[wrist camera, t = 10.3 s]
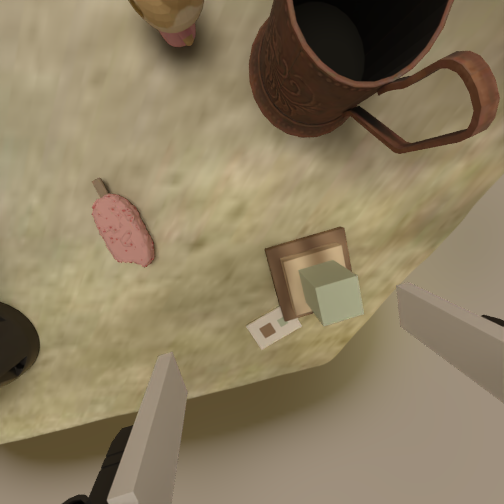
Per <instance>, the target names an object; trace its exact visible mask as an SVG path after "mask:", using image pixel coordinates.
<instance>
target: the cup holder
mask: <svg viewBox="0 0 504 504" xmlns="http://www.w3.org/2000/svg"><path fill="white" fill-rule="evenodd" d="M453 1H454V0H274V2H273V5H272V9H271V13H270V17H269V18H268V19H267V20H266V21H265V23H264V24H263V25H262V26H261V28H260V29H259V32H258V34H257V36H256V38H255V40H254V43H253V45H252V50H251V55H250V60H249V77H250V85H251V88H252V92H253V95H254V99H255V101H256V103H257V104H258V106H259V108H260V110H261V112H262V113H263V115H264V116H265V117H266V118H267V119H268V120H269V121H270V122H271V123H272V124H273V125H274V126H275V127H277V128H279V129H280V130H282V131H283V132H285V133H287V134H290V135H294V136H298V137H318V136H321V135H324V134H327V133H330V132H331V131H333V130H334V129H336V128H337V127H339V126H340V125H342V124H343V123H344V122H345V121H346V120H347V119H348V117H349V116H351V117H353V118H354V119H355V120H356V121H357V122H358V123H360V124H361V125H362V126H363V127H364V128H366V129H367V130H368V131H369V132H370V133H372V134H373V135H374V136H375V137H376V138H378V139H379V140H380V141H381V142H382V143H384V144H385V145H386V146H387V147H388V148H389V149H391V150H392V151H393V152H394V153H398V154H401V153H406V152H412V151H417V150H422V149H427V148H432V147H437V146H442V145H447V144H452V143H457V142H460V141H463V140H465V139H467V138H469V137H472V136H474V135H476V134H478V133H480V132H482V131H484V130H486V129H487V128H488V127H489V125H490V124H491V123H492V121H493V120H494V118H495V116H496V112H497V108H498V103H499V99H500V97H499V93H498V88H497V84H496V80H495V77H494V75H493V73H492V71H491V69H490V67H489V65H488V64H487V63H486V62H485V61H484V59H483V58H482V57H481V56H480V55H478V54H476V53H473V52H471V51H456V52H454V53H452V54H450V55H448V56H446V57H444V58H442V59H440V60H438V61H437V62H435V63H433V64H431V65H429V66H428V67H426V68H424V69H422V70H421V71H419V72H417V73H416V74H414V75H412V76H407V77H403V78H400V77H401V76H403V75H404V74H406V73H407V72H409V71H410V70H412V69H413V68H414V67H415V66H416V65H417V64H418V62H419V61H420V60H421V59H422V58H423V57H424V56H425V55H426V54H427V53H428V52H429V51H430V49H431V47H432V46H433V44H434V42H435V41H436V39H437V38H438V36H439V34H440V33H441V31H442V29H443V28H444V26H445V23H446V20H447V17H448V15H449V12H450V9H451V7H452V4H453ZM441 68H448V69H450V70H452V71H455V72H457V73H458V75H459V76H460V77H461V78H462V80H463V81H464V83H465V85H466V87H467V89H468V91H469V93H470V97H471V101H472V105H473V110H474V112H473V116H472V120H471V123H470V125H469V127H468V128H467V129H465V130H461V131H457V132H453V133H449V134H445V135H442V136H438V137H434V138H430V139H426V140H422V141H419V142H415V143H409V142H406V141H405V140H403V139H402V138H401V137H399V136H398V135H397V134H396V133H394V132H393V131H392V130H390V129H389V128H388V127H386V126H385V125H384V124H383V123H381V122H380V121H379V120H377V119H376V118H375V117H373V116H372V115H371V114H370V113H368V112H367V111H366V110H364V109H363V108H361V107H360V106H357V105H358V104H359V103H361V102H362V101H364V100H365V99H367V98H369V97H370V96H372V95H373V94H375V93H376V92H378V95H381V94H383V93H385V92H387V91H391V90H396V89H404V88H406V87H408V86H410V85H412V84H414V83H416V82H418V81H420V80H422V79H423V78H425V77H427V76H429V75H430V74H432V73H434V72H435V71H437V70H439V69H441ZM398 78H399V79H398ZM356 106H357V107H356Z"/></svg>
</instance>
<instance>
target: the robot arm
mask: <svg viewBox="0 0 504 504" xmlns="http://www.w3.org/2000/svg"><path fill="white" fill-rule="evenodd" d="M396 289H397V299H398V309H399V318H400V327H402V328H403V329H404V330H406V331H407V332H408V333H410V334H411V335H413V336H414V337H415V338H416V339H418V340H419V341H421V342H422V343H423V344H425V345H426V346H427V347H429V348H430V349H432V350H433V351H434V352H435V353H437V354H438V355H439V356H441V357H442V358H443V359H445V360H446V361H447V362H449V363H450V364H452V365H453V366H454V367H456V368H457V369H458V370H460V371H461V372H463V373H464V374H465V375H466V376H468V377H469V378H471V379H472V380H473V381H474V382H476V383H477V384H478V385H480V386H481V387H483V388H484V389H485V390H487V391H488V392H489V393H491V394H492V395H493V396H495V397H496V398H497V399H499V400H500V401H501V402H503V403H504V321H503V320H501V319H498V318H494V317H490V316H487V315H482V316H479V315H477V314H475V313H473V312H471V311H469V310H466V309H464V308H462V307H460V306H458V305H456V304H454V303H452V302H450V301H448V300H445V299H443V298H441V297H439V296H437V295H435V294H433V293H431V292H429V291H426V290H424V289H422V288H420V287H418V286H416V285H414V284H412V283H410V282H406V283H403V284H399V285H396ZM38 351H39V340H38V336H37V333H36V331H35V329H34V327H33V325H32V324H31V323H30V321H29V320H28V319H27V318H26V317H25V316H24V315H23V314H21V313H20V312H19V311H17V310H16V309H14V308H12V307H10V306H8V305H6V304H3V303H0V387H3V386H5V385H7V384H9V383H11V382H12V381H14V380H15V379H17V378H18V377H20V376H21V375H22V374H23V373H24V372H25V371H26V370H27V369H28V368H30V367H31V365H32V364H33V363H34V361H35V360H36V358H37V355H38ZM187 394H188V391H187V389H186V386H185V383H184V381H183V378H182V376H181V373H180V370H179V368H178V365H177V363H176V360H175V357H174V355H173V352H169V353H166V354H163V355H159V356H158V358H157V361H156V364H155V367H154V369H153V372H152V375H151V378H150V381H149V383H148V386H147V389H146V392H145V394H144V397H143V400H142V403H141V406H140V408H139V411H138V414H137V417H136V420H135V422H134V425H132V426H129V427H125V428H122V429H121V430H120V432H119V433H118V435H117V436H116V437H115V439H114V440H113V441H112V443H111V446H110V448H109V450H108V453H107V455H106V458H105V460H104V462H103V465H102V467H101V471H100V472H99V474H98V477H97V479H96V481H95V484H94V486H93V488H92V491H91V493H90V495H89V498H88V497H87V496H86V495H76V496H74V497H72V498H70V499H68V500H67V501H65V502H64V503H63V504H171V503H172V496H173V489H174V482H175V476H176V468H177V462H178V455H179V448H180V442H181V435H182V428H183V421H184V414H185V408H186V401H187Z"/></svg>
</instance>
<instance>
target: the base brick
mask: <svg viewBox="0 0 504 504" xmlns="http://www.w3.org/2000/svg"><path fill="white" fill-rule="evenodd" d="M265 252H266V256H267V260H268V263H269V267H270V271H271V275H272V278H273V282H274V286H275V290H276V293H277V297H278V301H279V305H280V308H281V312H282V315H283V319H284V321H285V322H286V321H289V320H293V319H296V318H299V317H303V316H306V315H309V314H312V313H313V311H312V310H311V308H310V307H309V306H308V304H307V303H306V300H305V296H304V292H303V288H302V283H301V279H300V275H299V271H298V270H300V269H304V268H307V267H310V266H314V265H317V264H321V263H324V262H327V261H331V260H334V261H336V262H337V263H339V264H340V265H342V266H343V267H345V268H347V269H348V270H350V271H351V272H352V270H351V264H350V258H349V253H348V247H347V241H346V236H345V230H344V228H343V227H337V228H334V229H331V230H327V231H324V232H320V233H317V234H313V235H310V236H307V237H303V238H300V239H296V240H293V241H289V242H286V243H283V244H279V245H276V246H272V247H269V248H265Z"/></svg>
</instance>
